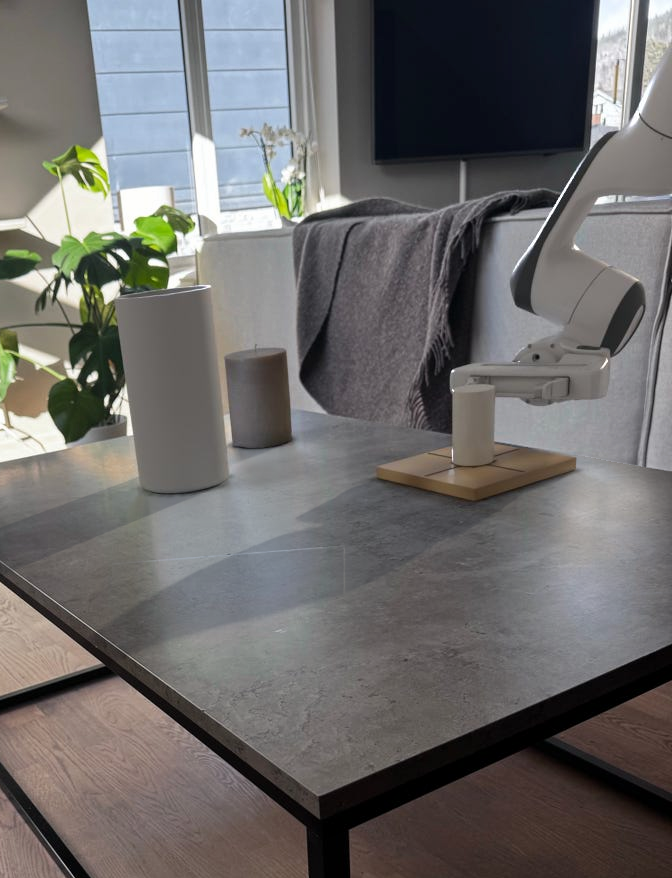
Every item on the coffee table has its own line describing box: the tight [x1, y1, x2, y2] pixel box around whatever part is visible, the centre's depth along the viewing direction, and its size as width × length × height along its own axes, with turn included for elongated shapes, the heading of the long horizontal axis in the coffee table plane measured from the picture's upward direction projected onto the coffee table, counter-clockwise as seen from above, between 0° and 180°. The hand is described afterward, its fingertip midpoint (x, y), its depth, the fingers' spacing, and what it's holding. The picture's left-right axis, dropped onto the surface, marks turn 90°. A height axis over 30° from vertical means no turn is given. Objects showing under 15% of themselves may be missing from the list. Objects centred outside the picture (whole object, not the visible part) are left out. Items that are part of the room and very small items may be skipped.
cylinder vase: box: [113, 285, 230, 494], centre depth 122 cm, size 12×12×25 cm
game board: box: [375, 443, 577, 502], centre depth 115 cm, size 17×17×2 cm
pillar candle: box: [223, 343, 293, 449], centre depth 142 cm, size 10×10×15 cm
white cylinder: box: [451, 384, 496, 466], centre depth 113 cm, size 5×5×9 cm
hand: (503, 391), depth 118 cm, fingers open, 8 cm apart
